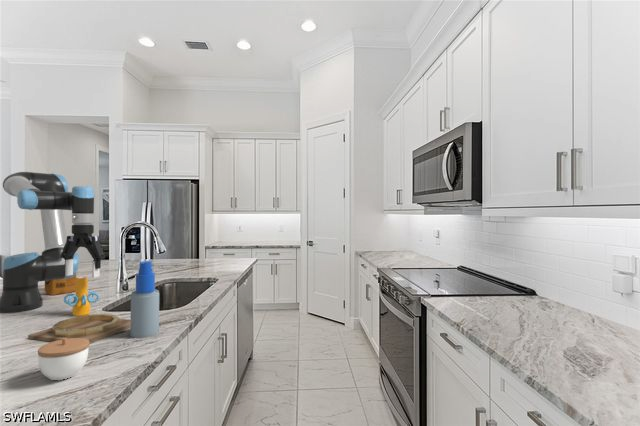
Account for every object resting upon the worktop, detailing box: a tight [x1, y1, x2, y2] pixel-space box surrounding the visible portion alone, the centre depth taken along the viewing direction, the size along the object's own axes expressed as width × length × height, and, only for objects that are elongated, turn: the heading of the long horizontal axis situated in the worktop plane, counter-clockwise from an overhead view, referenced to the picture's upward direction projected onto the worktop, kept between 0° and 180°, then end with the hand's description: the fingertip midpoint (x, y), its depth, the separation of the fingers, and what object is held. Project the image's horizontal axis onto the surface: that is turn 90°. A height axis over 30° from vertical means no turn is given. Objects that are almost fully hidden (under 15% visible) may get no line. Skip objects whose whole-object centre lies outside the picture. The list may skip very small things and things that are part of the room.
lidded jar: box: [37, 338, 90, 381], centre depth 90 cm, size 11×11×9 cm
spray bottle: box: [129, 260, 160, 339], centre depth 122 cm, size 9×9×25 cm
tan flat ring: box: [52, 313, 120, 337], centre depth 124 cm, size 19×19×2 cm
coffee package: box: [44, 273, 77, 296], centre depth 180 cm, size 10×12×22 cm
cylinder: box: [63, 276, 100, 317], centre depth 144 cm, size 12×10×15 cm
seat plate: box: [27, 318, 131, 345], centre depth 124 cm, size 23×23×1 cm
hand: (82, 276), depth 143 cm, fingers open, 13 cm apart
